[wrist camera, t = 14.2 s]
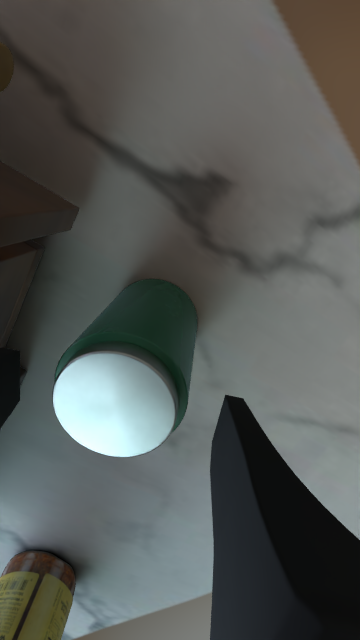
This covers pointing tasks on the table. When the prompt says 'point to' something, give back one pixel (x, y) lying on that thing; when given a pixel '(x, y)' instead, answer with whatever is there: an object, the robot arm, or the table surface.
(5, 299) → the drawer
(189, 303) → the can
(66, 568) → the sauce bottle
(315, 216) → the table surface
